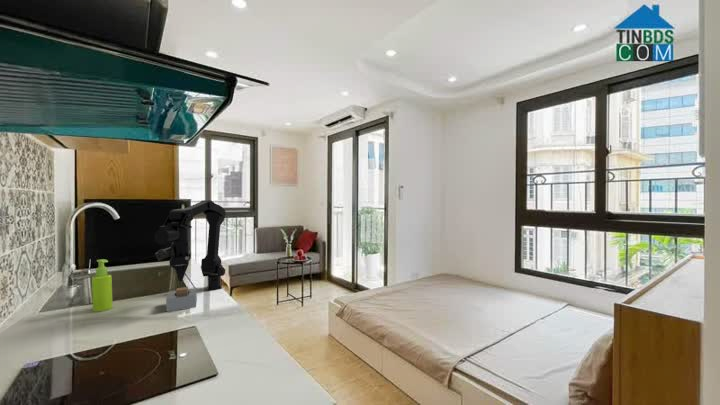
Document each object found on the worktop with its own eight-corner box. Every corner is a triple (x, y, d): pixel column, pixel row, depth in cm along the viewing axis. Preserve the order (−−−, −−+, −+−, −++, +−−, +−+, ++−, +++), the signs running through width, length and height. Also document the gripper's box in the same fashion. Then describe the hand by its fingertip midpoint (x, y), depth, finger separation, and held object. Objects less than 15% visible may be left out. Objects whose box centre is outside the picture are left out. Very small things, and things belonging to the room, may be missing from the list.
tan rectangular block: (177, 305, 121) (176, 288, 120) (188, 303, 122) (188, 286, 122) (176, 307, 118) (175, 290, 118) (187, 305, 120) (187, 288, 120)
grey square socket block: (169, 303, 122) (169, 291, 122) (196, 299, 127) (196, 288, 127) (166, 311, 113) (166, 299, 113) (196, 307, 118) (195, 294, 118)
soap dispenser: (97, 313, 113) (95, 262, 112) (90, 310, 116) (88, 260, 116) (116, 308, 118) (114, 259, 117) (108, 305, 121) (107, 257, 121)
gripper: (160, 239, 124) (161, 275, 124) (152, 245, 107) (153, 287, 108) (190, 237, 129) (191, 272, 129) (187, 242, 113) (188, 283, 113)
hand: (181, 278), depth 120 cm, fingers open, 9 cm apart
